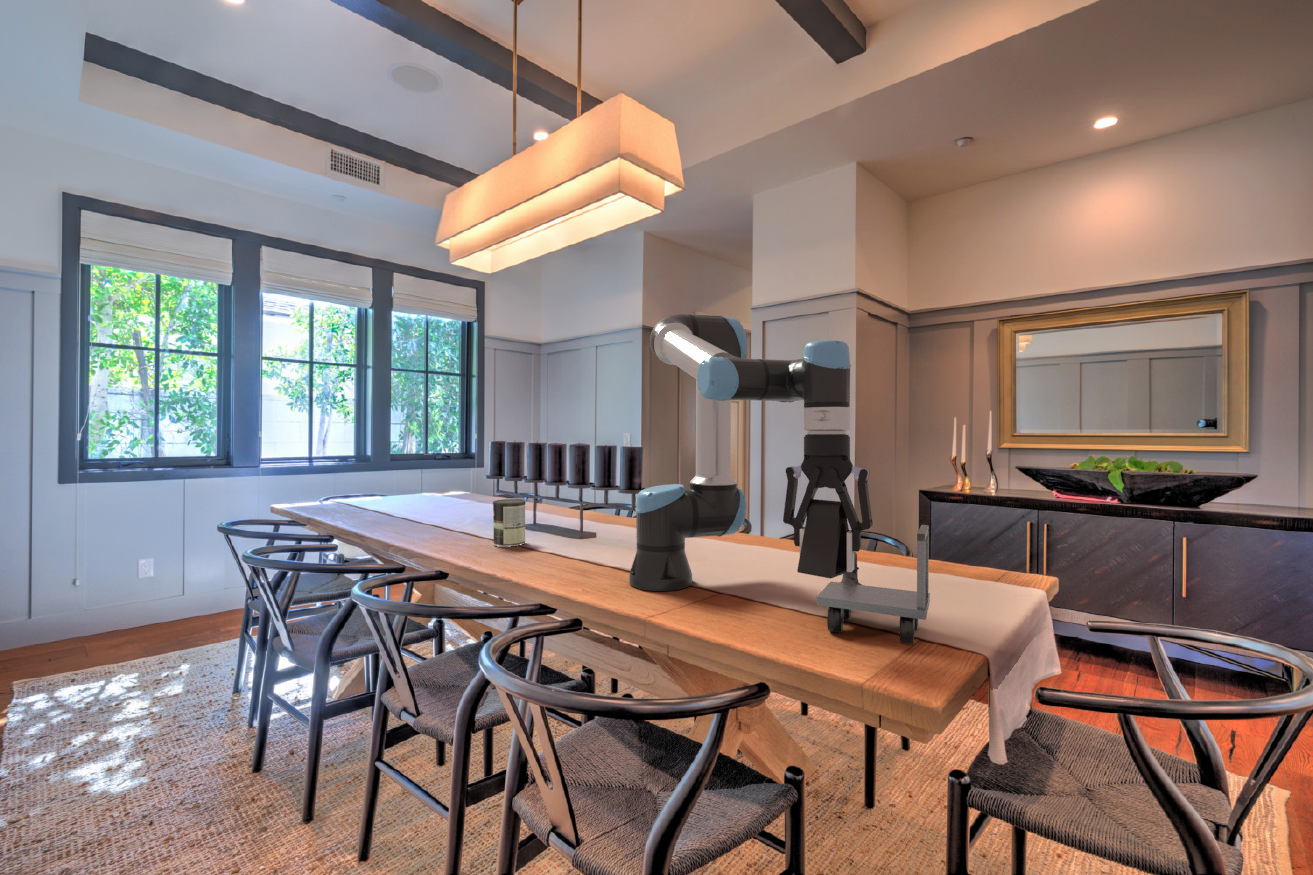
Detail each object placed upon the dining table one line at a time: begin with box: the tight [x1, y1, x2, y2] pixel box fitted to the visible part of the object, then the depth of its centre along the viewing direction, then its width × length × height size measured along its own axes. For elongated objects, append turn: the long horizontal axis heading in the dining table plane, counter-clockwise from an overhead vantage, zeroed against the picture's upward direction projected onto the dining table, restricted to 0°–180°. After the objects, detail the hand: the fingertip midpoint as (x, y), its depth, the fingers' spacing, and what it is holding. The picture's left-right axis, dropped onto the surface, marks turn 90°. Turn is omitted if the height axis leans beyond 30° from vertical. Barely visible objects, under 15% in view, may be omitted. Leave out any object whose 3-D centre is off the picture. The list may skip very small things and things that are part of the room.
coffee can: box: [492, 498, 526, 548], centre depth 189 cm, size 10×10×14 cm
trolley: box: [816, 524, 931, 645], centre depth 107 cm, size 18×13×19 cm
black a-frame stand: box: [796, 498, 856, 580], centre depth 99 cm, size 9×6×12 cm, turn 135°
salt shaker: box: [838, 551, 863, 585], centre depth 124 cm, size 6×6×12 cm
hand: (826, 567), depth 99 cm, fingers closed on black a-frame stand, 7 cm apart
